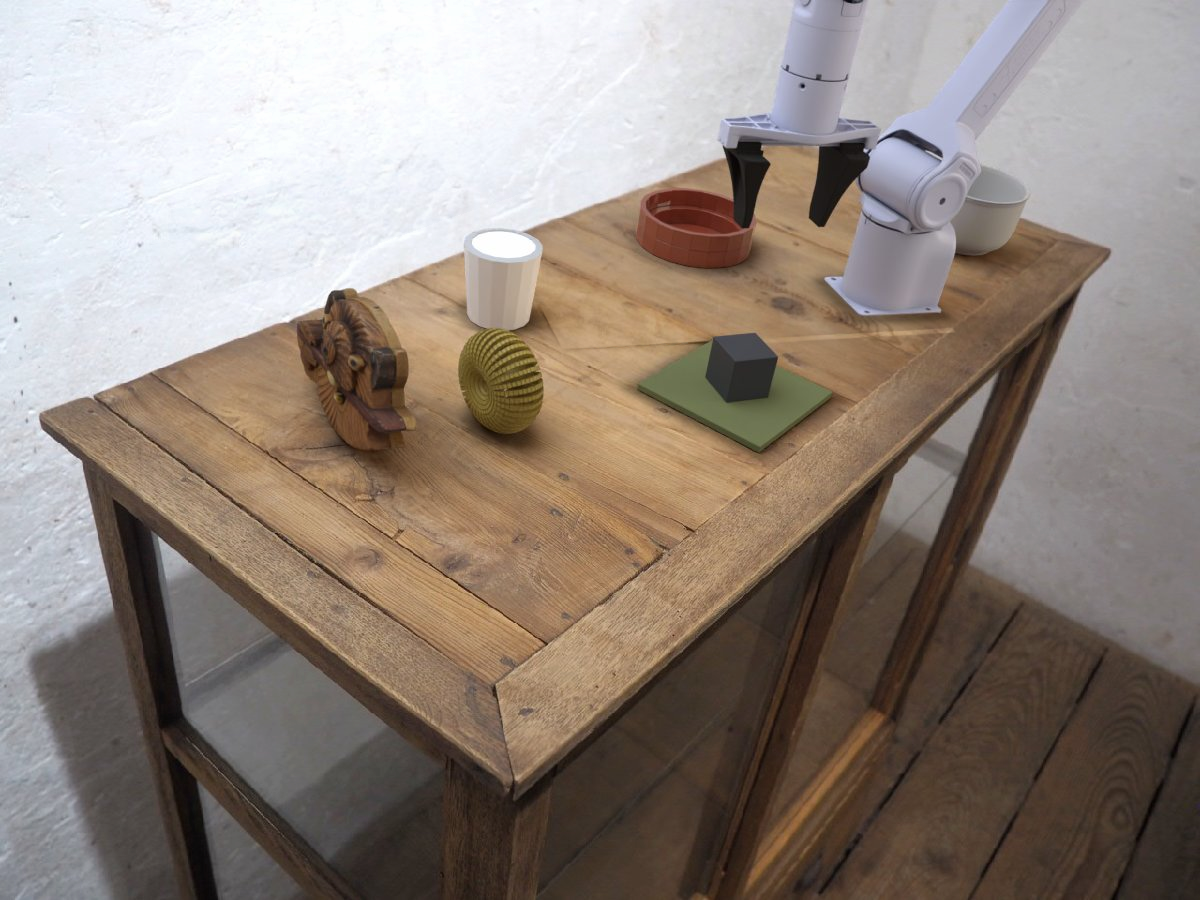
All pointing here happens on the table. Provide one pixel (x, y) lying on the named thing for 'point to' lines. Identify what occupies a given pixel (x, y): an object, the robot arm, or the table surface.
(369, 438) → the wooden carving
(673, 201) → the bowl
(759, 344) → the block
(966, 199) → the teacup
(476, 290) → the white cylinder
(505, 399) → the sculpture
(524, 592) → the table surface
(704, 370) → the pad
